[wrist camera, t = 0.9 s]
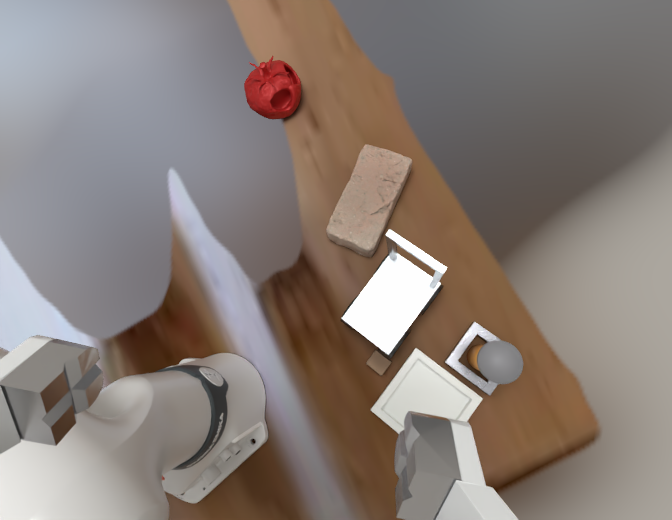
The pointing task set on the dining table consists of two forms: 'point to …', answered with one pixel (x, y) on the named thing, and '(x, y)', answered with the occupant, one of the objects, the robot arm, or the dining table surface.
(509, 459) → the dining table surface
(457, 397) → the tray
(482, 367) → the pin
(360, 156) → the brick
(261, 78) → the red hollow tomato
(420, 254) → the trolley
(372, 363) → the block
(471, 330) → the socket
